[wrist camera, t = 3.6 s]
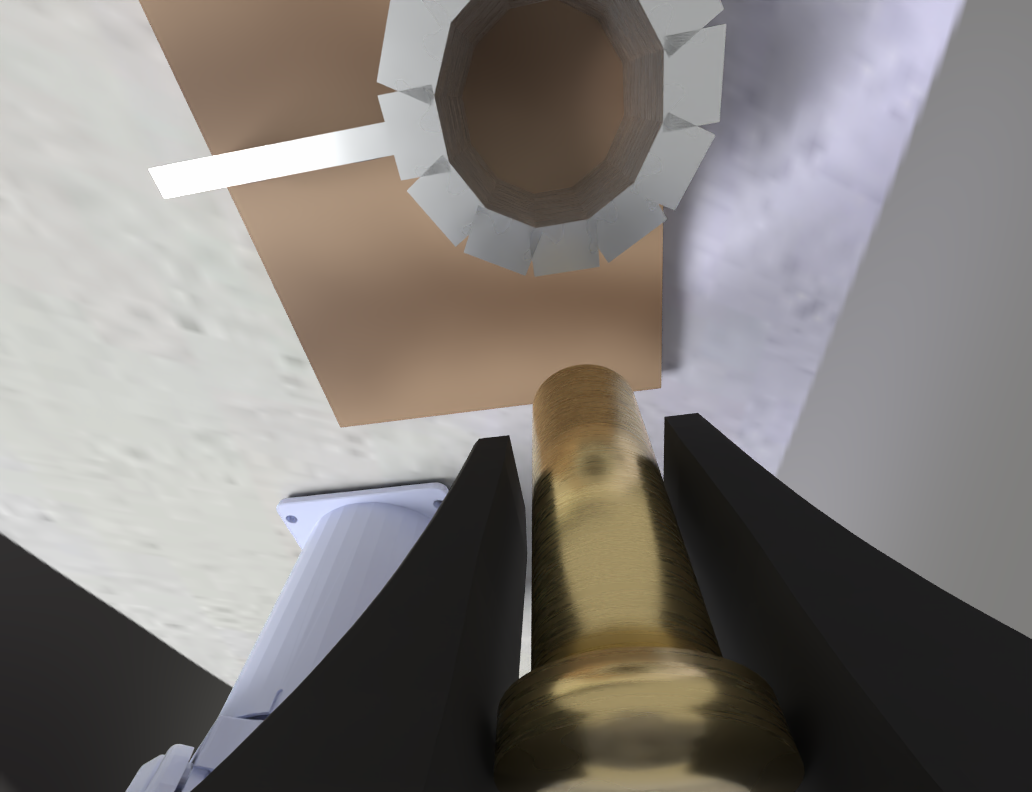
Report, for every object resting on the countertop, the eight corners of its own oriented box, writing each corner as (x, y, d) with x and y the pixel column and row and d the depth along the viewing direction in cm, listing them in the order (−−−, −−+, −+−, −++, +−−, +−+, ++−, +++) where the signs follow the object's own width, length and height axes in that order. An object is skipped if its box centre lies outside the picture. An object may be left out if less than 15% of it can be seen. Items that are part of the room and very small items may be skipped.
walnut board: (654, 373, 17) (660, 388, 16) (349, 412, 18) (340, 427, 17) (656, -905, 6) (676, -1066, 5) (-98, -582, 7) (-177, -669, 7)
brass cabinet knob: (652, 453, 11) (778, 830, 5) (526, 465, 12) (519, 831, 6) (652, 339, 10) (837, 710, 4) (505, 358, 10) (463, 721, 4)
